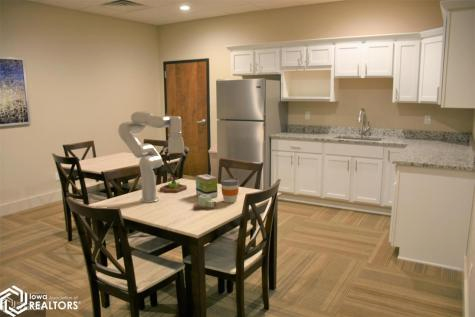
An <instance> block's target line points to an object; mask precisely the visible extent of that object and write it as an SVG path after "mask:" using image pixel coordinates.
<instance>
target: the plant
mask: <svg viewBox="0 0 475 317" xmlns="http://www.w3.org/2000/svg"><path fill="white" fill-rule="evenodd" d="M176 180H177V181H178V180H179V178H178V177H175V178H174V176H171V177H170V178H167V182H166V183H167V184H164V185H163V186H161V187H159V192H162V193H167V194H169V193H170V194H171V193H173V194H178V193H180V192H183V191H186V190H187V189H188V186H187V184H181V183H180V181H178V182H177V181H176ZM168 181H170V182H168Z"/></svg>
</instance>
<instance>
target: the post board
mask: <svg viewBox="0 0 475 317" xmlns="http://www.w3.org/2000/svg"><path fill="white" fill-rule="evenodd" d="M216 204H217V202H216V201H214V207H208V206H205V207H204V206H201V205H199V204H198V201H195V202H194V205H193V210H199V211H201V210H203V211H204V210H216Z"/></svg>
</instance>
